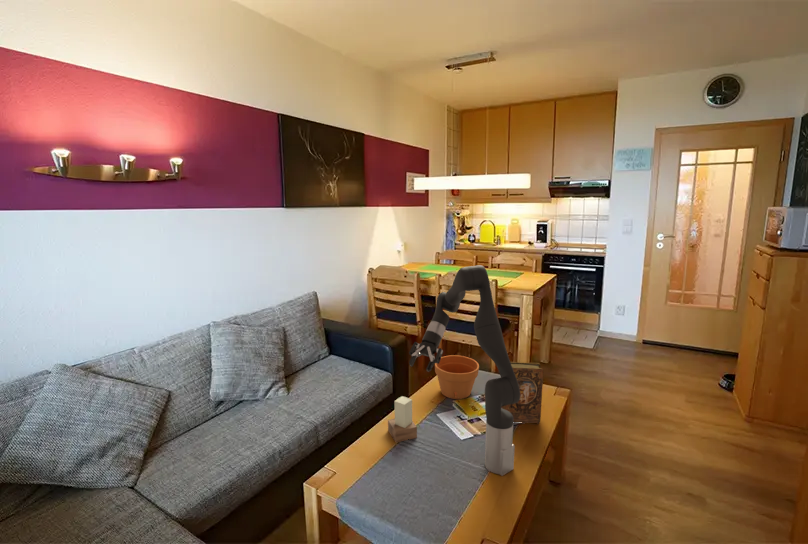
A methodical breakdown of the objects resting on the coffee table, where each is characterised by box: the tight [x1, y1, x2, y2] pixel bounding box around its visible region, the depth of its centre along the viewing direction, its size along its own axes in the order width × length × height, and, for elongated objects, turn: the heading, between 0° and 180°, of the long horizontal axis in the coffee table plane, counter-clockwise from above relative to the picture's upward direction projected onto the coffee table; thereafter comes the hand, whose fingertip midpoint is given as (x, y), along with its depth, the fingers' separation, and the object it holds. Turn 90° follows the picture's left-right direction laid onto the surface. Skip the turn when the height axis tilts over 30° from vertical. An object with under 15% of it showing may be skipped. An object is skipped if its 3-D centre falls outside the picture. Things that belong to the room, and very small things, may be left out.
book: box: [501, 361, 544, 425], centre depth 173 cm, size 16×6×25 cm, turn 84°
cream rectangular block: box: [393, 395, 413, 428], centre depth 164 cm, size 5×5×10 cm
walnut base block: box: [387, 418, 418, 444], centre depth 165 cm, size 9×9×5 cm
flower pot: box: [434, 354, 480, 400], centre depth 198 cm, size 21×21×15 cm
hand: (419, 368), depth 170 cm, fingers open, 8 cm apart
